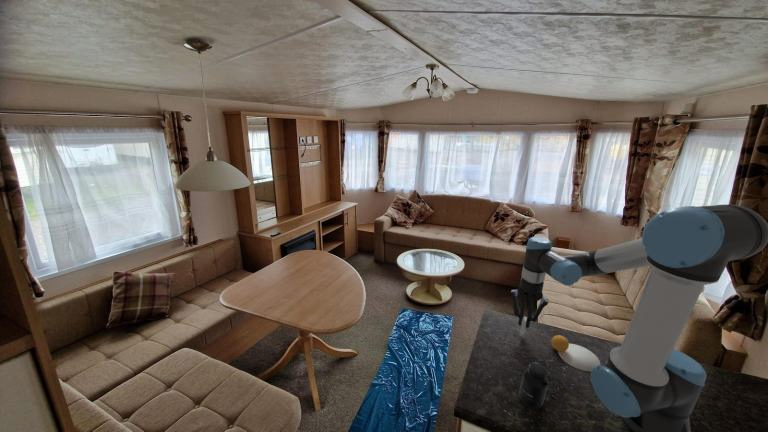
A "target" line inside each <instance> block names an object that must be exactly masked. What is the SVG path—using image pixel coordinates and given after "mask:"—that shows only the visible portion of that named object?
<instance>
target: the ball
mask: <svg viewBox="0 0 768 432" xmlns="http://www.w3.org/2000/svg"><path fill="white" fill-rule="evenodd" d="M550 342H551V346H552V348H553V349H554V350H556V351H557V352H558V351H566V350H567V349H568V347H569V344H570V342H569V341H568V339H567V338H566V337H565V336H563V335H560V334H557V335H554V336H553V337H551V341H550Z"/></svg>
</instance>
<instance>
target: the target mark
mask: <svg viewBox="0 0 768 432" xmlns="http://www.w3.org/2000/svg"><path fill="white" fill-rule="evenodd" d="M557 354H558V355H559V358H561V359H562V361H563V362H565V363H566V364H568V366H571V367H572V368H575V369H577V370H580V371H583V372H591V371H592V370H593V368H595V367H597V366H598V365H601V361H600V359H599V358H598V356H597V355H596V354H594V353H593V352H592V351H591V350H589V349H588V348H586V347H584V346H582V345H580V344H579V345H578V344H575V343H569V347H568V349H567V350H566V351H557Z"/></svg>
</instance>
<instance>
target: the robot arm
mask: <svg viewBox="0 0 768 432" xmlns="http://www.w3.org/2000/svg"><path fill="white" fill-rule="evenodd" d="M767 244H768V222H767V220H766V219H765V218H763V216H761V214H759V213H757V212H756V211H754V210H753V209H750V208H749V207H746V206H742V205H738V204H716V205H715V204H714V205H702V206H700V205H699V206H694V205H692V206H689V205H688V206H679V207H676V208H672V209H671V208H669V209H667V210H663V211H661V212H659V213H657V214H656V215H654V216H653V217H652V218H650V219H649V221H648V222H647V223H646V224H645V226H644V228H643V231H642V236H641V238H637V239H633V240H631V241H627V242H626V241H625V242H622V243H618V244H614V245H611V246H607V247H604V248H599V249H597V250H593V251H592V250H591V251H587V252H584V253H583V252H582V253H573V254H560V253H557V252H556V251H554V250H553V249H552V247H553V242H552V240H550V239H548V238H547V237H543V236H532V237H530V238H528V241H527V243H526V247H525V254H524V259H523V264H522V271H521V278H520V280H519V281H520V282H519V287H517V289H511V291H510V295H511V297H512V304H513V314H514V316H515V317H518V323H517V325H518V326H520V331H519V335H520V336H525V332H526V329H529V328H530V326H531V322H533V323H535V322H537V320H538V319H539V316H540V314H541V313H542V311H543V309H544V308H545V307H546V306H548V305H549V299H548V298H545V296H544V293H543V289H544V284H545V280H546V275H548V276H549V277H551V278H552V279H553V280H555V282H559V283H560V284H562V285H563V286H573V285H574V284H576V283H578V282H579V281H580V279H581V278H582V277H583V278H584V277H590V276H591V277H592V276H604V275H606V274H609V273H614V272H615V273H616V272H619V271H620V272H621V271H628V270H631V269H637V268H643V267H648V266H649V267H651V270H650V272H649V275H648V277H647V280H646V282H645V285H644V287H643V290H642V292H641V295H640V296H639V300H638V302H637V305H636V307H635V310H634V312H633V315H632V318H631V319H630V323H629V325H628V328H627V330H626V332H625V335H624V338H623V340H622V343H621V345H620V346H617V347H616V346H615V347H613V348H611V350H610V351H609V354H608V356H607V359H606V361H605V363H604V364H600V365H598V366H597V367H595V368H593V370H592V371H590V381H591V385H592V388H593V390H594V392H595V394H596V396H597V398H598V400H600V402H601V403H602V404H603V405H604V406H605V407H606V408H607V410H609V411H611V412H612V413H613V414H614V415H616V416H618V417H621V419H622V420H623V422H624V423H625V424H626V426H627V427H628V428H629V429H630V430H631V431H632V432H692V431H691V421H690V416H691V414H692V412H693V410H694V407H695V405H696V403H697V401H698V398H699V397H700V396H701V392H702V391H703V387H706V386H705V385H706V384H705V382H706V380H707V372H706V371H705V369H704V367H703V366H702V365H701V364H700V363H699V362H698V361H696V360H695V359H694V358H692V357H690V356H689V355H687V354H685V353H684V352H682V351H680V350H677V349H675V347H676V345H677V343H678V341H679V339H680V337H681V334H682V332H683V330H684V328H685V326H686V324H687V322H688V320H689V318H690V316H691V313H692V312H693V310H694V307H695V306H696V304H697V301H698V300H699V297H700V295H701V293H702V291H703V289H704V286H706V285H707V286H708V285H711V284H716V283H718V282H719V280H720V279H721V276H722V275H723V273H724V271H725V269H726V266H727V265H728V263H729V262H733V261H738V260H742V259H746V258H750V257H752V256H754V255H757V254H758V253H759V252H761V251H762V250H763V249H764V248H765V247H766V246H767ZM518 296H519V297H520V298H521V300H522V301H521V306H520V309H519V301H518ZM538 301H540V304H539V305H538V307H537V309H536V311H535V312H534V314H533V309H534V304H535V303H537V302H538ZM527 303H529V306H528V311H527V316H525V311H526V306H527Z"/></svg>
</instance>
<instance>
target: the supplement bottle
mask: <svg viewBox="0 0 768 432" xmlns="http://www.w3.org/2000/svg"><path fill="white" fill-rule="evenodd" d="M547 374H548V370H547V368H546V367H545V366H544V365H543V364H541V363H539V362H536V361H533V362H530V363H529V365H528V367H527V368H526V369H525V370H524V371H523V373H522V376H521V381H520V385H519V390H518V397H519V400H520V401H521V402H522V403H523V404H524V405H525V406H526V407H529V408H530V409H540V408H541V407H543V405H544V402H545V398H546V395H547V391H548V386H549V379H548V377H547Z"/></svg>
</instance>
